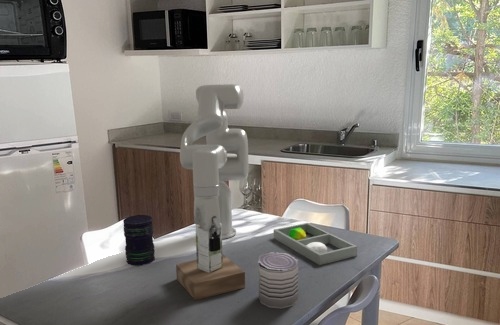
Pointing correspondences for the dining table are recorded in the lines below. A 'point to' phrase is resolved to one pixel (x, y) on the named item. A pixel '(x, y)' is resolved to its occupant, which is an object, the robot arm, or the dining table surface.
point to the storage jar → (139, 240)
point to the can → (278, 280)
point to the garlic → (317, 247)
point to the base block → (210, 279)
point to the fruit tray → (320, 236)
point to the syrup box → (207, 251)
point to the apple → (297, 234)
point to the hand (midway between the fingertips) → (208, 245)
